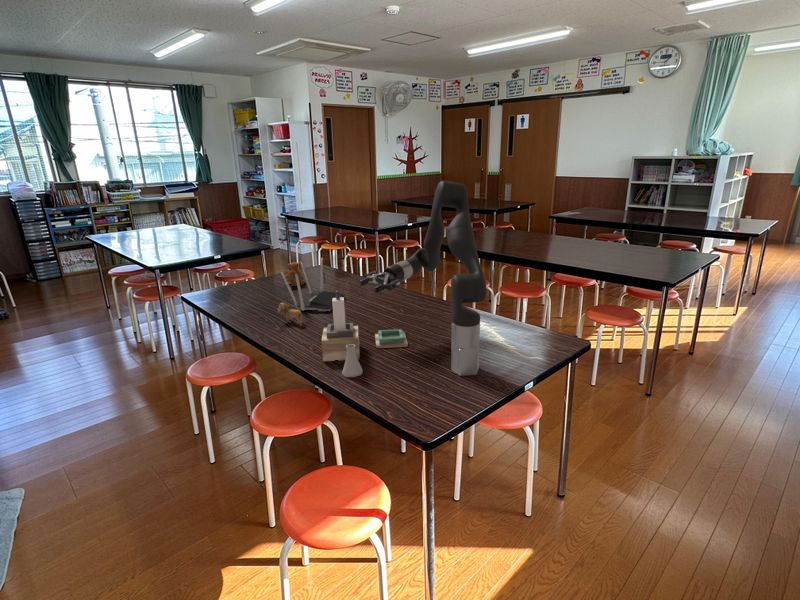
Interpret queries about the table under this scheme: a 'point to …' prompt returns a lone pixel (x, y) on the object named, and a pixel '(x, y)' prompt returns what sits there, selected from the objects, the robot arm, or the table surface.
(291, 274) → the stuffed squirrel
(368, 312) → the table surface
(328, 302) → the wireless router
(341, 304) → the plug
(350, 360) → the flask
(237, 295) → the table surface
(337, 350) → the upper dock
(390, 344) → the lower socket
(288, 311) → the lion figurine
